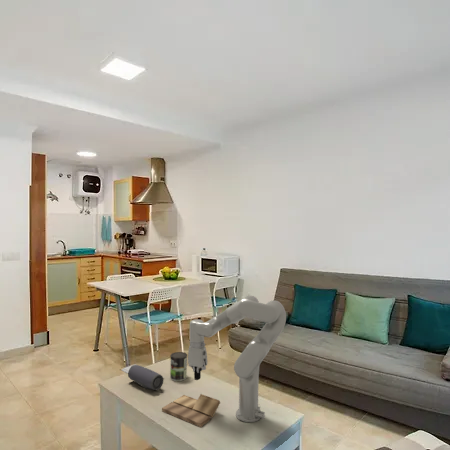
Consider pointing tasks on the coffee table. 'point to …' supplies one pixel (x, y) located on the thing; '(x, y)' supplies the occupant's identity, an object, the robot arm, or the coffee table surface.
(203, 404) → the plank near
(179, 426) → the coffee table surface
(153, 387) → the bluetooth speaker
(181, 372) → the coffee can
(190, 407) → the plank far
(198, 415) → the floor plank
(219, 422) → the coffee table surface
